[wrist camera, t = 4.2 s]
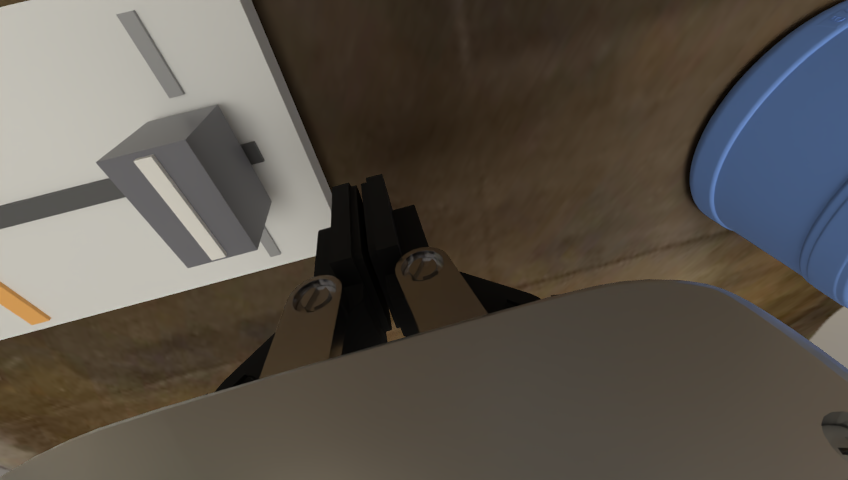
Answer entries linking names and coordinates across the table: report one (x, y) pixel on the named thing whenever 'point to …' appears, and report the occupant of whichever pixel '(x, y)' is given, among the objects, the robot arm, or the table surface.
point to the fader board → (110, 125)
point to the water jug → (786, 154)
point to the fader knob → (192, 185)
